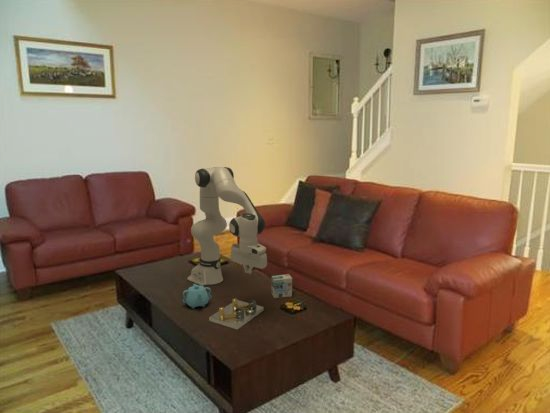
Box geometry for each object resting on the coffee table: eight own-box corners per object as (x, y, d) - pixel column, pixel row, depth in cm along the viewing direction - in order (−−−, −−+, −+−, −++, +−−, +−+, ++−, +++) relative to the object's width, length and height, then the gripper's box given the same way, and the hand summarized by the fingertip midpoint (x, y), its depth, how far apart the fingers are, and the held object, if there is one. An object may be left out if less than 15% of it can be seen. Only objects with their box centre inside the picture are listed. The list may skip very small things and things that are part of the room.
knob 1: (219, 320, 201) (219, 310, 200) (218, 317, 205) (218, 306, 203) (244, 316, 205) (244, 306, 203) (243, 313, 208) (242, 303, 207)
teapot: (196, 298, 232) (194, 279, 230) (217, 303, 225) (215, 283, 223) (180, 308, 221) (178, 288, 219) (202, 312, 214) (200, 292, 212)
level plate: (209, 321, 205) (208, 314, 205) (236, 303, 225) (236, 297, 224) (238, 329, 197) (238, 322, 196) (264, 310, 216) (264, 304, 215)
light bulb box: (274, 298, 230) (274, 280, 228) (271, 293, 237) (270, 275, 235) (292, 296, 233) (292, 278, 231) (289, 291, 240) (289, 273, 237)
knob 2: (233, 311, 210) (233, 301, 209) (231, 308, 214) (231, 298, 213) (257, 308, 214) (257, 298, 213) (255, 304, 217) (255, 295, 216)
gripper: (227, 244, 209) (227, 270, 212) (261, 252, 198) (261, 279, 201) (235, 241, 214) (235, 266, 217) (269, 248, 203) (268, 275, 207)
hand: (248, 272), depth 209 cm, fingers closed
